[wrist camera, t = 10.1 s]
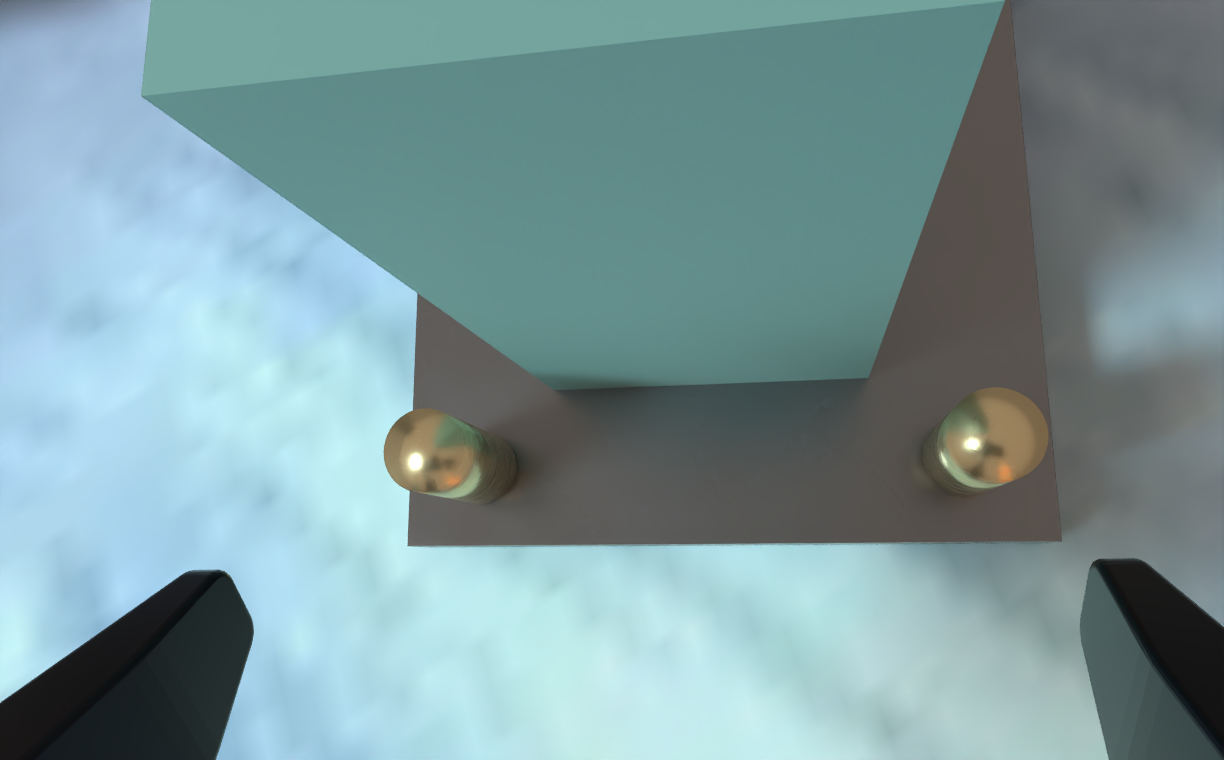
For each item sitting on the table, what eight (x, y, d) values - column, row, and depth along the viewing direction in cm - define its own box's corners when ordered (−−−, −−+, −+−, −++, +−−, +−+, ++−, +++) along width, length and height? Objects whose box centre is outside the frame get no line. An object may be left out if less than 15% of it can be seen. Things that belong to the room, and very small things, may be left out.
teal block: (851, 80, 18) (937, -730, 7) (868, 378, 17) (1003, 1, 6) (556, 108, 20) (208, -545, 8) (554, 390, 18) (141, 96, 7)
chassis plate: (991, -38, 20) (1040, -195, 16) (1044, 542, 17) (1119, 536, 13) (448, 26, 22) (369, -96, 18) (431, 547, 20) (335, 542, 16)
